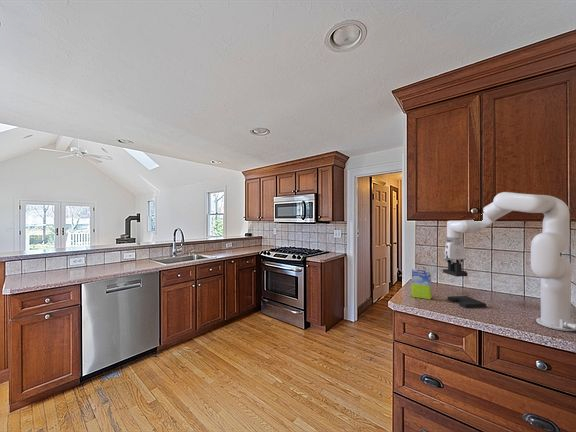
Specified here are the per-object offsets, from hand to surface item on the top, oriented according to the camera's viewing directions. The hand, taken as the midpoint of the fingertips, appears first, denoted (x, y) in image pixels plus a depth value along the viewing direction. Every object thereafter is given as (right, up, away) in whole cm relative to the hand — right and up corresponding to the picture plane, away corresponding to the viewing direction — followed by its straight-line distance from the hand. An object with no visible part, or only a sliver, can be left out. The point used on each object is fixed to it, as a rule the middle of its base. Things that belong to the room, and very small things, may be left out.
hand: (454, 270), depth 157 cm
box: (-20, -17, 0) cm, 26 cm away
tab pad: (+1, -2, 0) cm, 3 cm away
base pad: (0, -17, -10) cm, 20 cm away
